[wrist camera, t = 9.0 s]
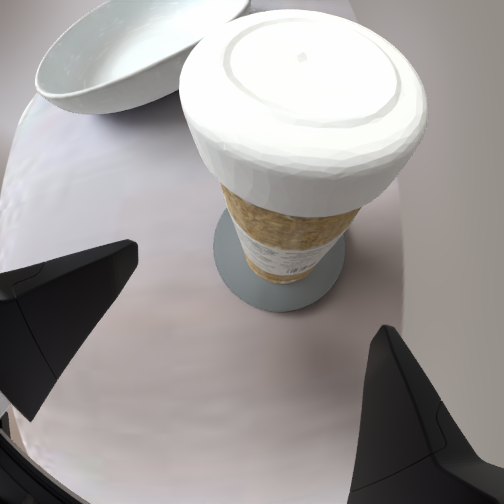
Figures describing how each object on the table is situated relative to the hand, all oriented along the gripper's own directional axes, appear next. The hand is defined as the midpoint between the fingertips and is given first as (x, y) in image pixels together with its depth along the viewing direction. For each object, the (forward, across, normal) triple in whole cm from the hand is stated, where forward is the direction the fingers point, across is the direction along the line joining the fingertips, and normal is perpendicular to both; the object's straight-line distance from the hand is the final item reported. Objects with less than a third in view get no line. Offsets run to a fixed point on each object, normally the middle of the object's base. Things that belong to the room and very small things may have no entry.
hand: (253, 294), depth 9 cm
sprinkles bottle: (+8, 0, +2) cm, 8 cm away
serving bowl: (+19, +18, -8) cm, 27 cm away
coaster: (+8, 0, +3) cm, 9 cm away
